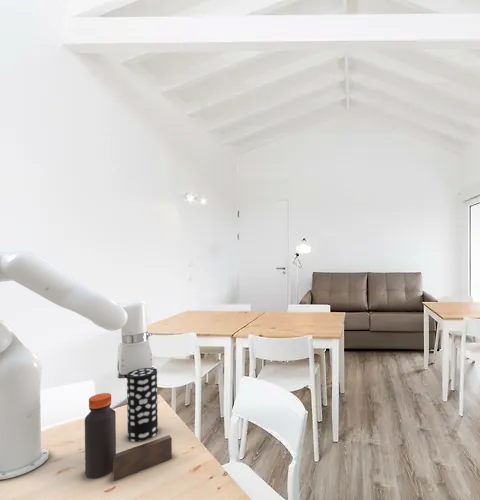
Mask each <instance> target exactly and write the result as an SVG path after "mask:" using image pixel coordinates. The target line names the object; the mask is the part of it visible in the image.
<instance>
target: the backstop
mask: <svg viewBox="0 0 480 500" xmlns="http://www.w3.org/2000/svg"><path fill="white" fill-rule="evenodd" d="M172 440H173V439H172V437H171V435H170V434H168V435H165V436H162V437H160V438H157V439H153V440H150V441H148V442H145V443H142V444H138V445H136V446H133V447H131V448H128V449H125V450H122V451H119V452H116V454H113V455H112V471H111V479H112V481H113V482H116V481H118V480H120V479H124V478H126V477H129V476H130V475H133V474H135V473H138V472H140V471H144V470H146V469H148V468H151V467H153V466H156V465H159V464H161V463H163V462H167V461H169V460H171V459H173V447H172V446H173V441H172Z"/></svg>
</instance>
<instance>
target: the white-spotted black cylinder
mask: <svg viewBox="0 0 480 500" xmlns="http://www.w3.org/2000/svg"><path fill="white" fill-rule="evenodd" d="M126 413H127V416H126V417H127V419H126V422H127V424H126V425H127V440H128V441H129V442H133V443H136V442H143V441H146V440H149V439H151V438H153V437H155V436H156V435H157V434H158V432H159V421H158V420H159V419H158V418H159V417H158V416H159V415H158V413H159V412H158V369H157V368H155V367H154V368H142V369H137V370H134V371H131V372H129V373H128V374H127V378H126Z"/></svg>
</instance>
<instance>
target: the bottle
mask: <svg viewBox="0 0 480 500" xmlns="http://www.w3.org/2000/svg"><path fill="white" fill-rule="evenodd" d="M111 405H112V394H111V393H110V392H101V393H97V394H95V395H92V396H90V397H89V398H88V410H89V411H90V412H89V413H88V414H87V415H86V416H85V418H84V473H85V476H86V477H87V478H89V479H97V478H100V477H103V476H106V475H109V474H110V473H112V455H113V454H116V453H117V440H116V438H117V431H116V430H117V423H116V422H117V421H116V420H117V418H116V414H117V413H116V410H115V409H113V408H112V407H111Z"/></svg>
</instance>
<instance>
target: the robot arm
mask: <svg viewBox="0 0 480 500" xmlns="http://www.w3.org/2000/svg"><path fill="white" fill-rule="evenodd" d="M10 281H11V282H15V283H17V284H18V285H21V287H24V288H25V289H28V290H30V291H32V292H33V293H35V294H37V295H39V296H40V297H42V298H44V299H45V300H47V301H49V302H51V303H53V304H54V305H57V306H59V307H61V308H64V309H66V310H68V311H71V312H74V313H76V314H78V315H80V316H81V317H83V318H85V319H87V320H89V321H91V322H92V323H93V324H94V325H95V326H97V327H99V328H102V329H104V330H107V331H110V332H111V331H117V330H121V331H120V333H121V342H120V343H118V348H117V353H116V354H117V355H116V369H117V376H116V377H117V379H127V374H128V373H129V372H131V371H134V370H137V369H142V368H155V367H154V353H153V347H152V343H151V340H150V338H149V337H151V336H153V331H149V330H148V308H147V307H148V306H147V303H146V302H145V300H144V301H143V300H131V301H126V302H117V303H116V302H115V301H113V300H111V299H110V298H108V297H106V296H104V295H103V294H101V293H99V292H98V291H96V290H95V289H92V288H91V287H90V286H88V285H87V284H85V283H83V281H80V280H79V279H77V278H75V277H74V276H72V275H71V274H69V273H67V272H65V271H64V270H62V269H61V268H59V267H58V266H57V265H54V264H53V263H52V262H50V261H48V260H46V259H45V258H43V257H41V256H40V255H39V254H36V253H34V252H32V251H27V250H17V251H16V250H15V251H2V252H0V283H2V282H10ZM42 369H43V367H42V362H41V360H40V359H39V357H38V356H37V354H35V353H34V352H33V351H32V350H30V348H29V347H28V346H27V345H26V344H25V343H24V342H23V341H22V340H21V339H20V337H18V336H17V334H16V333H15V331H13V330H12V329H11V327H10V326H9V325H8V323H7V322H6V321H4V319H1V318H0V480H8V479H12V478H16V477H19V476H22V475H24V474H27V473H29V472H31V471H33V470H35V469H37V468H38V467H40V466H42V465H43V464H44V463H45V462H46V461H47V460H49V459H48V458H49V451H48V450H47V449H45V448H42V423H41V422H42V418H41V417H42V416H41V415H42V414H41V413H42V412H41V411H42V409H41V407H42V406H41V405H42V404H41V385H42V384H41V383H42V375H43V370H42Z"/></svg>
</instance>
